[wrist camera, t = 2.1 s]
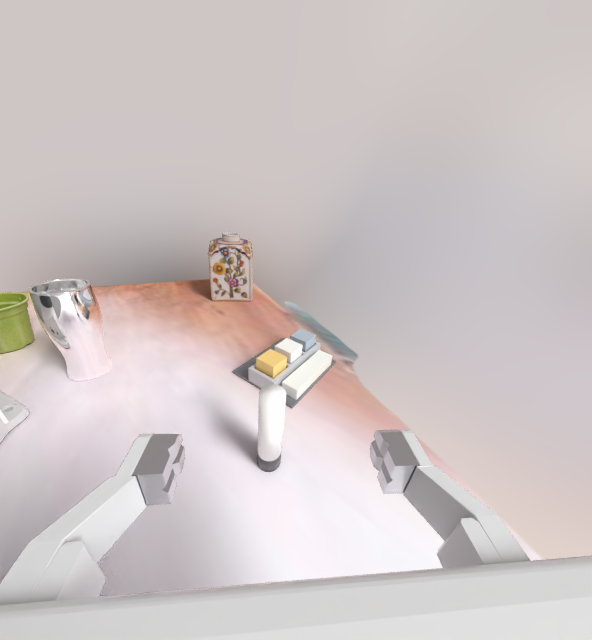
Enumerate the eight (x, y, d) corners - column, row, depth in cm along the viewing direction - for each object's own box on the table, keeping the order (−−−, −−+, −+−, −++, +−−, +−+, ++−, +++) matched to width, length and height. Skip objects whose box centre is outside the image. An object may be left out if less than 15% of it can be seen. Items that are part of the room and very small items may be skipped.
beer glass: (105, 352, 46) (79, 274, 39) (124, 367, 43) (100, 285, 36) (57, 371, 41) (18, 284, 34) (75, 389, 38) (36, 298, 31)
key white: (274, 359, 45) (274, 345, 44) (285, 351, 48) (286, 337, 46) (289, 367, 43) (291, 353, 42) (301, 358, 46) (302, 344, 45)
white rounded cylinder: (252, 462, 30) (253, 395, 25) (267, 445, 32) (270, 380, 27) (270, 476, 29) (274, 408, 24) (284, 458, 31) (291, 392, 26)
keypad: (233, 372, 44) (232, 359, 43) (283, 339, 55) (284, 327, 54) (292, 408, 38) (293, 393, 36) (335, 362, 49) (337, 350, 48)
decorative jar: (215, 287, 80) (211, 229, 72) (251, 287, 82) (251, 231, 74) (210, 302, 70) (205, 236, 62) (252, 302, 72) (252, 238, 64)
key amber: (256, 372, 42) (256, 358, 40) (269, 362, 44) (270, 348, 43) (272, 381, 40) (273, 367, 38) (285, 371, 43) (287, 356, 41)
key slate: (289, 348, 49) (290, 335, 47) (299, 341, 51) (300, 328, 50) (304, 355, 47) (306, 342, 46) (314, 347, 50) (315, 334, 48)
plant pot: (-28, 343, 45) (-55, 299, 41) (42, 327, 52) (25, 288, 48) (-29, 367, 40) (-60, 320, 36) (50, 346, 46) (31, 304, 42)
